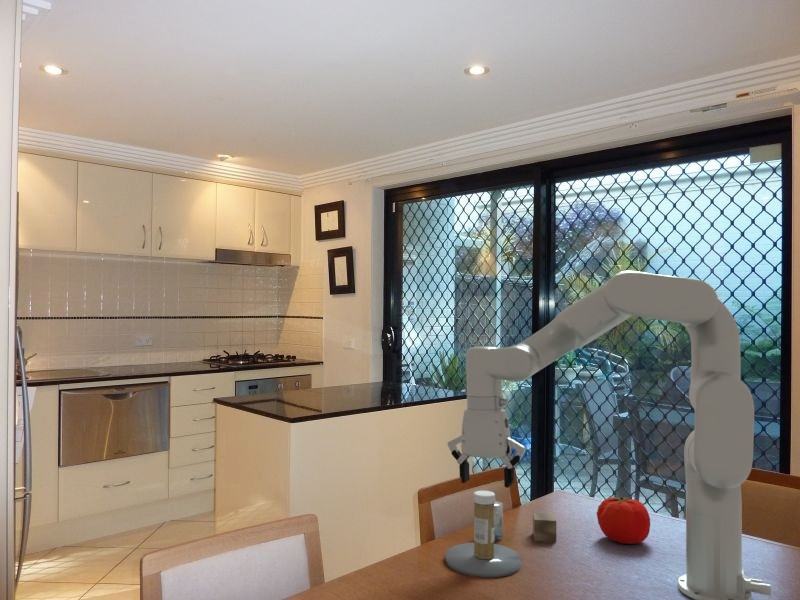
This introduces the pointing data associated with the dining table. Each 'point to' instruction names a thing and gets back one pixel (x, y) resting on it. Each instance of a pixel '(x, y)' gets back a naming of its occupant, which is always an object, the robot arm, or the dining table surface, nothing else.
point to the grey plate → (483, 561)
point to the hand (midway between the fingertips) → (486, 483)
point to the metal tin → (498, 521)
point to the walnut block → (544, 527)
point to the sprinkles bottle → (484, 524)
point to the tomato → (624, 520)
